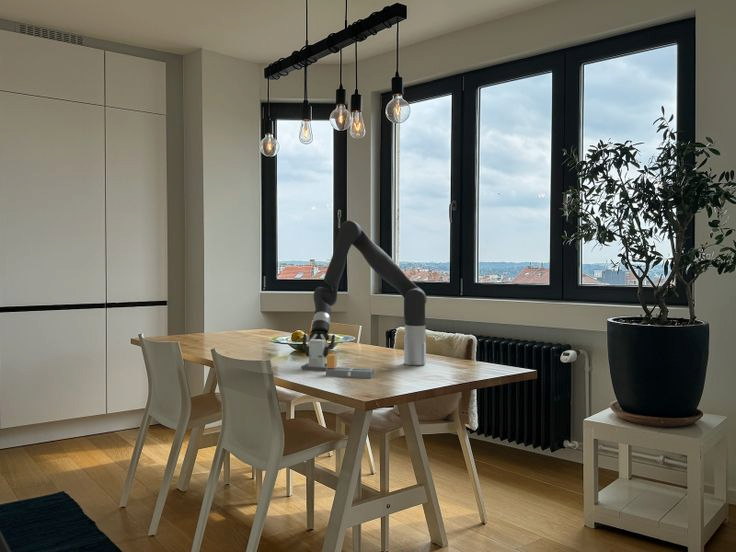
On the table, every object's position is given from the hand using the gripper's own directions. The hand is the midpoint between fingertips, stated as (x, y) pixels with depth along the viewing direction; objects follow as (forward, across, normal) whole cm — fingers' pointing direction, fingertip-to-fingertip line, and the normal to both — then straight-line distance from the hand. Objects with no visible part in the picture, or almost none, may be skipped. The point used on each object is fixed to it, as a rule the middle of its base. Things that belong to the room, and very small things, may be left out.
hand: (316, 355), depth 270 cm
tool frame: (+3, 0, +5) cm, 6 cm away
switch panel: (+13, +15, -5) cm, 21 cm away
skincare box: (+3, 0, +5) cm, 6 cm away
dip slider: (+10, +8, -6) cm, 14 cm away
